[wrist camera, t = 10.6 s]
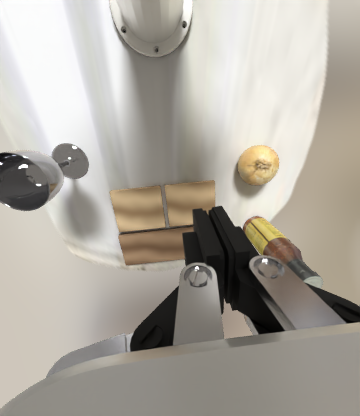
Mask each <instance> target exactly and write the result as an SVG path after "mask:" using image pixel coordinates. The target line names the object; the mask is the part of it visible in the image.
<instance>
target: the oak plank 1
mask: <svg viewBox="0 0 360 416" xmlns="http://www.w3.org/2000/svg"><path fill="white" fill-rule="evenodd" d="M110 196H111V201H112V205H113V209H114V213H115V217H116V221H117V225H118V229H119V232H126V231H135V230H145V229H154V228H163V227H165V226H166V225H165V217H164V210H163V202H162V195H161V188H160V186H151V187H141V188H132V189H122V190H112V191H110Z"/></svg>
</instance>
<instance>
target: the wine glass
mask: <svg viewBox="0 0 360 416" xmlns="http://www.w3.org/2000/svg"><path fill="white" fill-rule="evenodd" d="M88 167H89V163H88V159H87V156H86V155H85V153H84V152H83V151H82V150H81V149H80V148H79V147H77V146H75V145H73V144H68V143H64V144H60V145H58V146H57V147H55V149H54V150H53V152H52V157H51V156H49V155H47V154H44V153H41V152H37V151H30V150H16V151H8V152H4V153H0V202H1V203H2V204H4V205H6V206H8V207H10V208H13V209H16V210H21V211H31V210H35V209H38V208H40V207H41V206H43V205H45V204H46V203H48V202H49V201H50V200H52V199H53V198H54V197H55V196H56V195H57V193H58V192H59V191H60V189H61V188H62V186H63V183H64V176H65V177H67V178H72V179H77V178H80V177H82V176H84V175H85V174H86V172H87V171H88Z"/></svg>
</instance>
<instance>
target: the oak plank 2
mask: <svg viewBox="0 0 360 416" xmlns="http://www.w3.org/2000/svg"><path fill="white" fill-rule="evenodd" d="M165 193H166V201H167V209H168V218H169V226H170V227H173V226H182V225H191V224H193V214H192V209H199V208H202V209H203V210H206V211H207V214H208V210H211V209H212V207H215V181H214V180H210V181H200V182H191V183H181V184H171V185H165Z"/></svg>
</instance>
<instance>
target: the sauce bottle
mask: <svg viewBox="0 0 360 416" xmlns="http://www.w3.org/2000/svg"><path fill="white" fill-rule="evenodd" d="M244 232H245V234H246V236H247V237H248V239H249V240H250V241H251V243H252V244H253V245H254V246H255V248H256V249H257V250H258V252H259V253H260V254H261V255H267V256H272V257H275V258H277V259H279V260H281V261H282V262H283V263H285V264H286V265H287V266H288V267H289V268H290V269H291V270H292V271H293V272H294V273H295V274H296V275H297V276H298V277H299V278H300V279H301V280H302V281H303V282H305V283H308V284H310V285H313V286H315V287H317V288H320V289H321V287H322V285H323V280H322V278H321V277H320V276H319V275H318V274H317V273H316V272H314V271H312V270H311V269H310V268H309V267H308V266H307V265H306V264H305V263H304V262H303V260H302V256H301V251H300V250H299V249H298V248H297V247H296V246H295V245H294V244H292V243H291V242H290V240H289V239H287V238H286V237H285V236H284V235H283V234H282V233H281V232H279V231H278V230H277V229H276V228H275V227H273V225H271V224H270V223H269V222H268V221H267V220H266V219H264V218H262V217H258V216H255V217H252V218H250V219H248V220H247V221H246V223H245V225H244Z"/></svg>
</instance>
